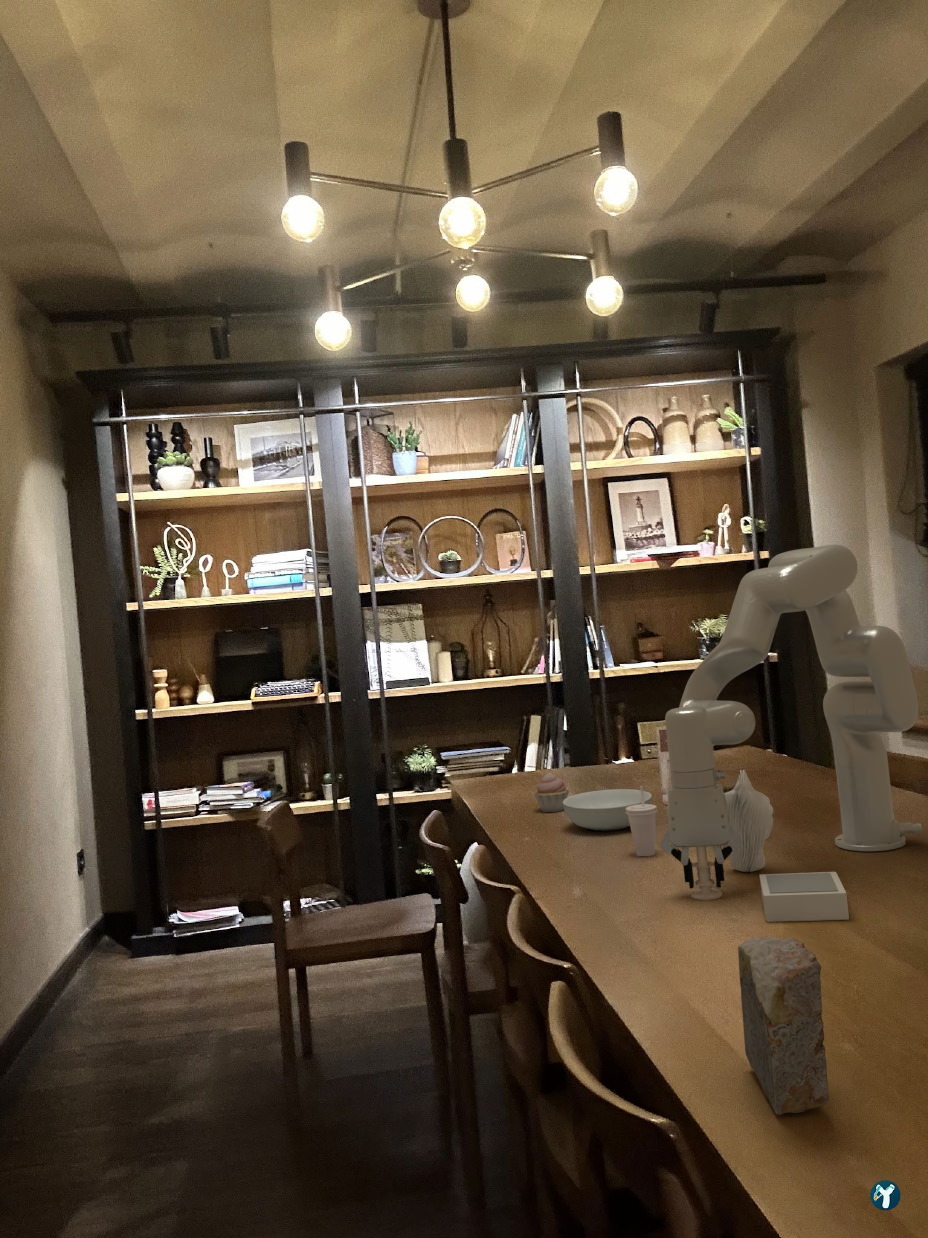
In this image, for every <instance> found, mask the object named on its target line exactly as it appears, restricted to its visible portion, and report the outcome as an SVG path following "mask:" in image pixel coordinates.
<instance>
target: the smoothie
mask: <svg viewBox="0 0 928 1238" xmlns="http://www.w3.org/2000/svg"><path fill="white" fill-rule="evenodd" d="M639 790H640V791H641V800H642V804H639V805H632V806H629V807H627V808H626V814H628V819H629V823H630V826H629V827H630V831H631V836H632V840H633V843H634V844H633V845H634V849H635V853H636V856H637V857H640V856H648V857H652V855H653V856H655V855H656V821H657V820H656V817H657V816H656V815H657V814H656V813H657V812H658V809H657V805H656V804H645V802H644V793H643V791H644V786H643V785H640V786H639Z"/></svg>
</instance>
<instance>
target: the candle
mask: <svg viewBox="0 0 928 1238" xmlns="http://www.w3.org/2000/svg"><path fill="white" fill-rule="evenodd" d="M695 848H696V859H697V861H696V862H692V868H696V871H697V878H698V879H697V880H694V885H696V886H698V887H699V888H697V889H693V890H692V891H690V897H691V898H692V899H695V900H699V901H701V900H702V901H709V900H715V899H718V898H720V897H722V895H723V893H722V890H721V889H719V888H713V887H712V886H713V885H715V884H716V881H715V880H714V879H712V878H711V877H712V876H711V875H712V873H711V867H714V862H712V861H708V853H707V846H706V847H695Z"/></svg>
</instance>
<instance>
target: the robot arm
mask: <svg viewBox="0 0 928 1238" xmlns="http://www.w3.org/2000/svg"><path fill="white" fill-rule="evenodd" d="M858 568H859V567H858V561H857V558H856V555H855V554H854V553H853V552H852V551H851V549H849V548H848V547H847V546H844V545H841V544H827V545H820V546H816V547H815V546H814V547H808V548H807V547H806V548H799V549H792V550H788V551H785V552H782V553H779V554H776V555H775V556H773V557H772V558H771V559H770V560H769V562H768V566H767V567H763V568H759V569H753V570H751V571H749V572H748V573H746V574H744V576H743V577H742V578H741V580H740V582H739V585H738V588H737V591H736V594H735V596H734V600H733V603H732V606H731V610H730V613H729V616H728V617H727V618H728V619H727V621H726V624H725V625H726V626H725V628H724V631H723V634H722V637H721V638H720V641H719V643H718V644H717V645H716V646H715V648H713V649H712V650H711V651H710V652H709V653H708V654H707V656H705V658H704V659H703V660H702V661H701V662H700V663H699V664H698V666H697V667H696V668H695V669H694V670H693V672H692V674H691V675H690V677H689V679H688V680H687V683H686V685H685V688H684V691H683V693H682V697H681V699H680V702H679V707H676V708H671V709H669V710H668V711H667V712H666V713H665V717H664V723H665V732H666V740H667V751H668V760H669V768H670V778H671V786H670V787H668V790H667V823H668V828H667V831H666V832H665V833H664V835H663V837H662V839H661V842H660V844H659V848H660V849H661V850H662V851H664V852H667V853H668V854H670V855H671V856H672V857H674V858H675V859H676V860H677V861H679V862H680V863H681V865H682V867H683V868H682V869H683V876H684V883H688V886H689V889H693V888H694V887H695V879H694V873H693V866H692V864H693V862H692V861H691V858H690V857H689V855H690V848H696V847H706V848H707V847H712V850H713V852H714V856H715V857H714V862H713V863H714V866H713V867H714V874H715V875H714V876H715V884H716V887H717V889H719V888H720V889H721V888H722V883H721V882H724V881H725V880H726V879H725V872H724V863H725V861H726V859H728V857H729V856H731V853H732V852H733V851H734V850H736V849H737V848H738V847H740V846H741V845H742V844H743V843H742V839H741V838H740V837H739V836H738V834H737V833H736V832H735V831H734V830H733V828H732V827H731V826H730V824H729V817H728V811H727V805H726V800H725V795H724V793H725V792H724V788H723V786H722V784H720V783H717V782H718V781H719V780H721V779H725V778H726V774H725V770H719V769H717V768H716V766H715V765H716V764H715V756H714V746H721V745H725V746H726V745H737V744H741V743H743V742H745V741H747V740H748V739H749V738H750V737H751V736H752V735H753V733H754V731H755V727H756V718H755V715H754V712H753V711H752V709H750V707H748V706H747V704H744V703H742V702H740V701H736V700H735V701H733V700H718V698H719V695H720V693H721V692H722V691H723V689H724V688H725V686H727V684H729V683H730V681H732V680H733V679H735V678H736V677H738V676H740V675H741V674H742V673H744V672H747V671H748V670H750V669H752V668H754V667H756V666H757V665H759V664H761V662H764V660H765V659H767V657H768V655H769V652H770V650H771V646H772V643H773V639H774V636H775V633H776V630H777V627H778V623H779V620H780V617H781V615H782V614H784V613H785V614H786V613H795V612H796V613H797V612H804V611H805V612H806V615H807V617H808V621H809V624H810V627H811V631H812V635H813V638H814V643H815V647H816V648H815V649H816V652H817V655H818V659H819V662H820V664H821V667H822V669H823V670H824V672H825V673H826V674H828V675H830V676H834V677H839V678H840V677H841V678H842V677H843V678H858V677H860V678H865V677H866V678H870V680H857V681H853V680H852V681H844V682H839V683H836V684H834V685H833V686H831V687H829V689H827V691H826V693H825V694H824V697H823V700H822V701H823V702H822V707H823V713H824V717H825V720H826V724H827V727H828V729H829V734H830V738H831V742H832V749H833V756H834V764H835V773H836V783H837V784H836V785H837V790H838V791H837V792H838V800H839V810H840V819H841V829H842V833H841V834H839V835H837V836H836V837H835V838H834V842H835V845H836V847H838V848H841V849H844V850H849V851H853V852H855V851H856V852H884V851H892V850H895V849H896V850H897V849H899V848H902V847H904V846H905V845H906V836H905V835H907V834H912V835H916V834H918V835H920V834H921V835H922V834H923V832H924V831H923V825H922V823H921V822H916V823H913V822H912V821H910V822H909V821H908V822H907V821H906V822H899V821H898V820H897V819H896V817H895V815H894V808H893V807H894V805H893V798H892V797H893V795H892V787H891V780H890V779H891V778H890V769H889V761H888V753H887V748H886V747H885V744H884V743H883V740H882V739H881V737H880V735H879V733H902V732H906V731H909V730H910V729H911V728H912V727H913V726H915V724H916V722H917V719H918V717H919V716H918V715H919V703H918V695H917V692H916V688H915V687H916V686H915V683H914V679H913V675H912V674H913V673H912V671H911V670H912V669H911V666H910V662H909V658H908V654H907V650H906V647H905V644H904V642H903V640H902V638H901V637H900V635H899V634H898V633H897V632H896V631H894V630H893V629H892V628H890V627H888V626H885V625H865V626H863V625H861V623H860V622H859V619H858V614H857V612H856V608H855V605H854V603H853V599H852V597H851V595H850V594H849V592H848V591H847V589H848V588H850V587H851V586H852V584H854V581H855V579H856V578H857V574H858ZM730 838H731V840H732V841H731V842H730V843H729V841H730ZM724 845H725V846H724ZM722 846H724V847H723V848H722ZM679 848H681V850H680V849H679Z"/></svg>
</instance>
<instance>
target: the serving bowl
mask: <svg viewBox="0 0 928 1238" xmlns="http://www.w3.org/2000/svg"><path fill="white" fill-rule="evenodd" d="M643 793H644V802H645V804H651V805H653V804H652V801H653V798H652V797H653V795H652V794H651V793H650V792H648V791H645V790H643ZM639 804H642V800H641V791H640V789H632V788H631V789H630V788H629V789H625V788H621V789H620V788H616V789H615V788H614V789H603V790H593V791H586V792H581V793H578V794H574V795H571V796H567V798H566V799H565V800H564V801H563V806H564V810H563V811H564V812H565V815H566V816H567V817H568V819H569V820H570V821H571V822H572V823H574V824H575V825H576V826H579V827H581V828H584V829H590V830H594V831H598V830H601V831H600V832H608V831H607V830H612V831H618V830H623V829H627V828H628V827H630V823H629V819H628V814H626V808H627V807H629V806H632V805H639ZM605 830H606V831H605Z"/></svg>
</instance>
